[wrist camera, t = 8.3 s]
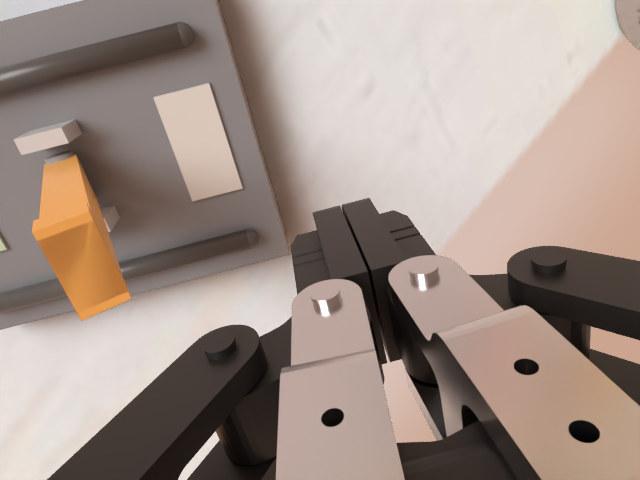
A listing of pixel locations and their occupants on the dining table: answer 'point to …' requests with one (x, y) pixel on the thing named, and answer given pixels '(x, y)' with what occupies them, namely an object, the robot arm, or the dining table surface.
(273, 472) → the robot arm
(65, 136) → the breaker panel
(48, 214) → the breaker lever
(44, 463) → the dining table surface
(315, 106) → the dining table surface
